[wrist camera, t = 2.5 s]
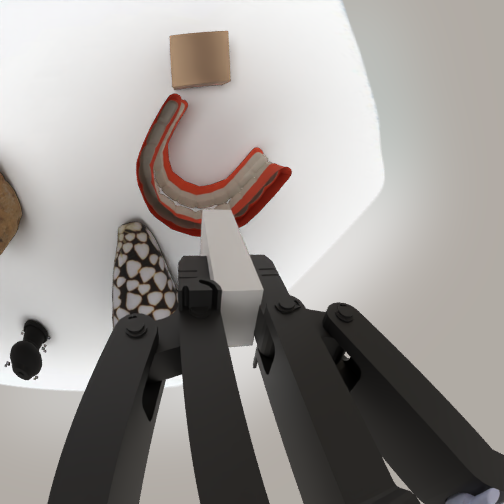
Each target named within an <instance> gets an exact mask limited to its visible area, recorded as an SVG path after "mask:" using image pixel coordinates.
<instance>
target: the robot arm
mask: <svg viewBox="0 0 504 504" xmlns="http://www.w3.org/2000/svg"><path fill="white" fill-rule="evenodd" d="M178 284H179V288H178V307H177V309H176V311H175V312H174V313H173V314H171V315H170V316H168V317H165V318H163V319H159V320H154V319H153V318H151V317H150V316H148V315H145V314H143V313H133V314H129V315H126V316H124V317H123V318H121V319H120V320H119V321H118V322H117V324H116V325H115V327H114V329H113V331H112V333H111V335H110V337H109V339H108V341H107V343H106V345H105V348H104V350H103V352H102V354H101V356H100V358H99V360H98V362H97V365H96V367H95V369H94V371H93V373H92V376H91V378H90V380H89V383H88V385H87V387H86V390H85V392H84V394H83V397H82V399H81V402H80V404H79V407H78V409H77V412H76V414H75V417H74V419H73V422H72V425H71V428H70V430H69V433H68V436H67V439H66V442H65V445H64V448H63V451H62V454H61V457H60V460H59V463H58V467H57V470H56V473H55V477H54V480H53V484H52V487H51V491H50V496H49V500H48V504H139V500H140V494H141V489H142V483H143V478H144V473H145V468H146V463H147V458H148V453H149V449H150V444H151V439H152V435H153V430H154V426H155V422H156V417H157V413H158V409H159V405H160V401H161V397H162V393H163V389H164V385H165V381H166V379H169V378H172V377H175V376H178V375H181V374H182V378H183V389H184V399H185V409H186V417H187V425H188V433H189V441H190V448H191V454H192V460H193V467H194V473H195V478H196V484H197V489H198V494H199V499H200V504H270V503H269V500H268V497H267V494H266V490H265V487H264V484H263V480H262V477H261V474H260V470H259V467H258V463H257V460H256V456H255V453H254V449H253V445H252V442H251V439H250V434H249V431H248V427H247V423H246V419H245V415H244V411H243V407H242V404H241V399H240V395H239V391H238V387H237V383H236V379H235V374H234V370H233V365H232V361H231V357H230V352H229V348H228V347H237V346H249V345H253V340H254V336H255V339H256V342H257V349H256V353H255V357H254V362H253V368H256V366H257V362H258V365H259V368H260V371H261V375H262V378H263V381H264V385H265V388H266V391H267V394H268V397H269V400H270V404H271V407H272V410H273V413H274V416H275V420H276V422H277V426H278V429H279V432H280V435H281V438H282V441H283V444H284V447H285V450H286V453H287V456H288V459H289V462H290V465H291V468H292V471H293V474H294V477H295V480H296V483H297V486H298V489H299V491H300V494H301V497H302V500H303V503H304V504H420V502H419V500H421V501H422V502H423V503H424V504H503V503H504V455H503V454H501V453H498V452H496V451H494V450H492V448H491V447H490V446H489V445H488V444H487V443H486V442H485V441H484V439H482V437H481V436H480V435H479V434H478V433H477V432H476V430H475V429H474V428H473V427H472V426H471V425H470V424H469V423H468V422H467V421H466V420H465V418H464V417H462V415H461V414H460V413H459V412H458V411H457V410H456V409H455V408H454V407H453V406H452V405H451V404H450V402H449V401H447V400H446V398H445V397H444V396H443V395H442V394H441V393H440V392H439V391H438V390H437V389H436V388H435V387H434V386H433V385H432V384H431V383H430V382H429V381H428V380H427V379H426V378H425V377H424V376H423V374H422V373H421V372H420V371H419V370H418V369H417V368H416V367H415V366H414V365H413V364H412V363H411V362H410V361H409V360H408V359H407V358H406V357H404V355H403V354H402V353H401V352H400V351H399V350H398V349H397V348H396V347H395V346H394V345H393V344H392V343H391V342H390V341H389V340H388V339H387V338H386V337H385V336H384V335H383V334H382V333H380V332H379V331H378V330H377V329H376V328H375V327H374V326H373V325H372V324H371V323H370V322H369V321H368V320H367V319H366V318H365V317H364V316H363V315H362V314H361V313H360V312H359V311H358V310H357V309H355V308H354V307H352V306H351V305H348V304H346V303H333V304H331V305H329V307H328V309H327V311H326V312H321V311H315V310H309V309H306V308H305V306H304V305H303V304H302V302H301V301H300V300H299V299H297V298H295V297H293V296H290V295H289V293H288V291H287V289H286V287H285V285H284V283H283V281H282V280H281V278H280V276H279V274H278V272H277V270H276V268H275V266H274V264H273V262H272V261H271V260H270V259H269V258H268V257H266V256H265V255H249V253H248V250H247V248H246V245H245V243H244V240H243V238H242V235H241V233H240V230H239V228H238V225H237V223H236V221H235V218H234V216H233V213H232V211H231V210H213V209H202V224H201V245H200V256H183V257H182V259H181V260H180V261H179V263H178ZM345 352H347V353H348V355H349V356H350V359H349V358H347V357H345V356H344V354H345ZM382 457H383V458H384V459H385V461H386V462H387V463H388V464H389V465H390V467H391V468H392V469H393V470H394V471H395V472H396V474H397V475H398V476H399V477H400V478H401V480H402V481H403V482H404V483H405V484H406V485H407V486H408V488H409V489H410V490H411V491H412V492H413V493H414V494H413V493H412V492H410V491H408V490H405V489H402V488H399V487H397V486H396V484H395V483H394V481H393V479H392V477H391V475H390V473H389V471H388V469H387V467H386V465H385V463H384V460H383V458H382ZM417 498H419V500H418V499H417Z"/></svg>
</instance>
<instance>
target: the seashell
mask: <svg viewBox="0 0 504 504" xmlns="http://www.w3.org/2000/svg"><path fill="white" fill-rule="evenodd" d="M112 302H113V310H112V321H113V329H114V327H115V325H116V324H117V322H118V321H119V320H120V319H121V318H123V317H124V316H126V315H129V314H133V313H143V314H145V315H148V316H150V317H151V318H153V319H154V320H159V319H163V318H165V317H168V316H170V315H171V314H173V313H174V312H175V311H176V309H177V307H178V291H177V289H176V287H175V285H174V282H173V280H172V278H171V276H170V273H169V270H168V268H167V265H166V263H165V260H164V258H163V255H162V253H161V251H160V248H159V246H158V244H157V242H156V240H155V238H154V237H153V235H152V233H151V232H150V231H149V230H148V229H147V227H146V226H145V225H143V224H142V223H138V222H132V223H127V224H125V225H122V226H121V227H119V228H118V242H117V249H116V255H115V261H114V271H113V288H112Z"/></svg>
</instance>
